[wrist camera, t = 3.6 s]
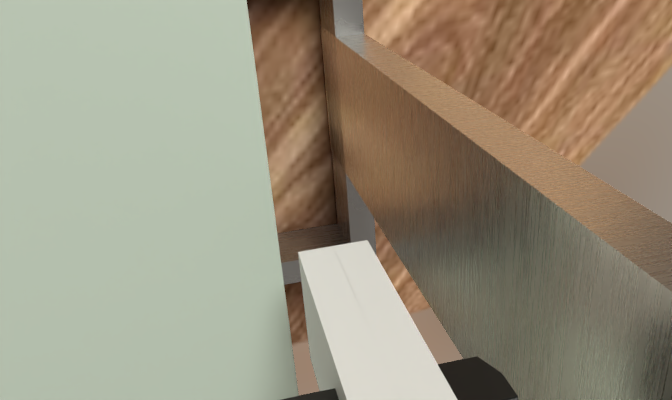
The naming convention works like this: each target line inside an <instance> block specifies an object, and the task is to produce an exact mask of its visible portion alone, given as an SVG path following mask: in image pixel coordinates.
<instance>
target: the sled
mask: <svg viewBox="0 0 672 400" xmlns="http://www.w3.org/2000/svg"><path fill="white" fill-rule="evenodd" d="M319 5H320V17H321V38H322V50H323V62H324V74H325V85H326V97H327V109H328V121H329V133H330V145H331V151H332V160H333V172H334V184H335V196H336V208H337V220H338V223H337V224H331V225H325V226H319V227H313V228H307V229H301V230H295V231H289V232H283V233H277V235H278V243H279V251H280V258H281V266H282V273H283V281H284V285H285V284H291V283H296V282H301V273H300V265H299V256H298V252H301V251H307V250H312V249H318V248H324V247H330V246H336V245H341V244H347V243H353V242H359V241H365V240H368V242H369V244H370V245H371V247H372V249H373V251H374V252H375V254H376V241H375V223H374V218H375V220H376V222H377V223H378V225H379V226H380V228H381V229H382V231H383V233H384V234H385V236H386V237H387V239H388V240H389V242H390V244H391V245H392V247H393V248H394V250H395V252H396V253H397V255H398V256H399V258H400V259H401V261H402V263H403V264H404V266H405V267H406V269H407V270H408V272H409V274H410V275H411V277H412V278H413V280H414V281H415V283H416V285H417V286H418V288H419V289H420V291H421V292H422V294H423V296H424V297H425V299H426V300H427V302H428V304H429V305H430V307H431V308H432V310H433V311H434V313H435V314H436V316H437V318H438V319H439V321H440V322H441V324H442V326H443V327H444V329H445V330H446V332H447V333H448V335H449V337H450V338H451V340H452V341H453V343H454V344H455V346H456V347H457V349H458V351H459V352H460V354H461V355H462V357H463V359H466V358H471V357H476V356H478V357H479V358H481V359H482V360H484V361H485V362H486V363H488V364H489V365H491V366H492V367H494V368H495V369H497V370H498V371H499V372H501V373H502V374H503V375H504V377H505V378H506V380H507V381H508V382H509V384H510V385H511V387H512V388H513V390H514V391H515V393H516V394H517V395H518V399H519V400H672V223H671V222H669V221H667V220H666V219H664V218H662V217H661V216H659V215H658V214H656V213H654V212H653V211H651V210H649V209H648V208H646V207H644V206H643V205H641V204H639V203H638V202H636V201H635V200H633V199H632V198H630V197H628V196H627V195H625V194H623V193H622V192H620V191H619V190H617V189H615V188H613V187H612V186H610V185H609V184H607V183H605V182H604V181H602V180H601V179H599V178H597V177H596V176H594V175H592V174H591V173H589V172H588V171H586V170H584V169H583V168H581V167H580V166H578V165H576V164H575V163H573V162H571V161H570V160H568V159H567V158H565V157H563V156H562V155H560V154H559V153H557V152H555V151H554V150H552V149H550V148H549V147H547V146H546V145H544V144H542V143H541V142H539V141H537V140H536V139H534V138H533V137H531V136H529V135H528V134H526V133H524V132H523V131H521V130H520V129H518V128H516V127H515V126H513V125H511V124H510V123H508V122H507V121H505V120H503V119H502V118H500V117H498V116H497V115H495V114H494V113H492V112H490V111H489V110H487V109H485V108H484V107H482V106H481V105H479V104H477V103H476V102H474V101H472V100H471V99H469V98H468V97H466V96H464V95H463V94H461V93H459V92H458V91H456V90H455V89H453V88H451V87H450V86H448V85H446V84H445V83H443V82H442V81H440V80H438V79H437V78H435V77H434V76H432V75H430V74H429V73H427V72H425V71H424V70H422V69H421V68H419V67H417V66H416V65H414V64H412V63H411V62H409V61H408V60H406V59H404V58H403V57H401V56H399V55H398V54H396V53H395V52H393V51H391V50H390V49H388V48H386V47H385V46H383V45H382V44H380V43H378V42H377V41H375V40H373V39H372V38H370V37H369V36H367V35H365V34H364V24H363V6H362V0H319Z"/></svg>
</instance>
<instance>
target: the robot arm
mask: <svg viewBox="0 0 672 400" xmlns="http://www.w3.org/2000/svg"><path fill="white" fill-rule="evenodd" d="M298 256H299V265H300V273H301V282H302V290H303V299H304V308H305V316H306V325H307V333H308V342H309V350H310V358H311V361H312V365H313V369H314V372H315V376H316V379H317V383H318V387H319V390H320V391H319V392H314V393H310V394H306V395H301V396H295V397H291V398H286V399H281V400H519V399H518V395H517V394H516V393H515V391H514V390H513V388H512V387H511V385H510V384H509V382H508V381H507V380H506V378H505V377H504V375H503V374H502V373H501V372H499V371H498V370H497V369H495V368H494V367H492V366H491V365H489V364H488V363H486V362H485V361H484V360H482V359H481V358H479V357H478V356H476V357H471V358H466V359H462V360H457V361H452V362H447V363H443V364H437V362H436V361H435V359H434V357H433V355H432V354H431V352H430V350H429V348H428V346H427V345H426V343H425V341H424V339H423V338H422V336H421V334H420V333H419V331H418V329H417V327H416V325H415V323H414V322H413V320H412V318H411V316H410V315H409V313H408V311H407V309H406V307H405V306H404V304H403V302H402V300H401V299H400V297H399V295H398V293H397V292H396V290H395V288H394V286H393V284H392V283H391V281H390V279H389V277H388V276H387V274H386V272H385V270H384V268H383V267H382V265H381V263H380V261H379V260H378V258H377V256H376V254H375V252H374V251H373V249H372V247H371V245H370V244H369V242H368V240H365V241H359V242H353V243H347V244H341V245H336V246H330V247H324V248H318V249H312V250H307V251H301V252H298Z"/></svg>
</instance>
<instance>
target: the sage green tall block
mask: <svg viewBox="0 0 672 400" xmlns="http://www.w3.org/2000/svg"><path fill="white" fill-rule="evenodd" d="M295 396H299V395H298V388H297V381H296V372H295V365H294V357H293V350H292V342H291V334H290V327H289V319H288V311H287V304H286V296H285V289H284V281H283V273H282V266H281V258H280V251H279V243H278V235H277V228H276V220H275V212H274V205H273V197H272V190H271V182H270V174H269V167H268V159H267V152H266V144H265V136H264V129H263V121H262V114H261V106H260V98H259V91H258V83H257V76H256V68H255V60H254V53H253V45H252V38H251V30H250V22H249V15H248V7H247V0H0V400H281V399H286V398H291V397H295Z"/></svg>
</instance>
